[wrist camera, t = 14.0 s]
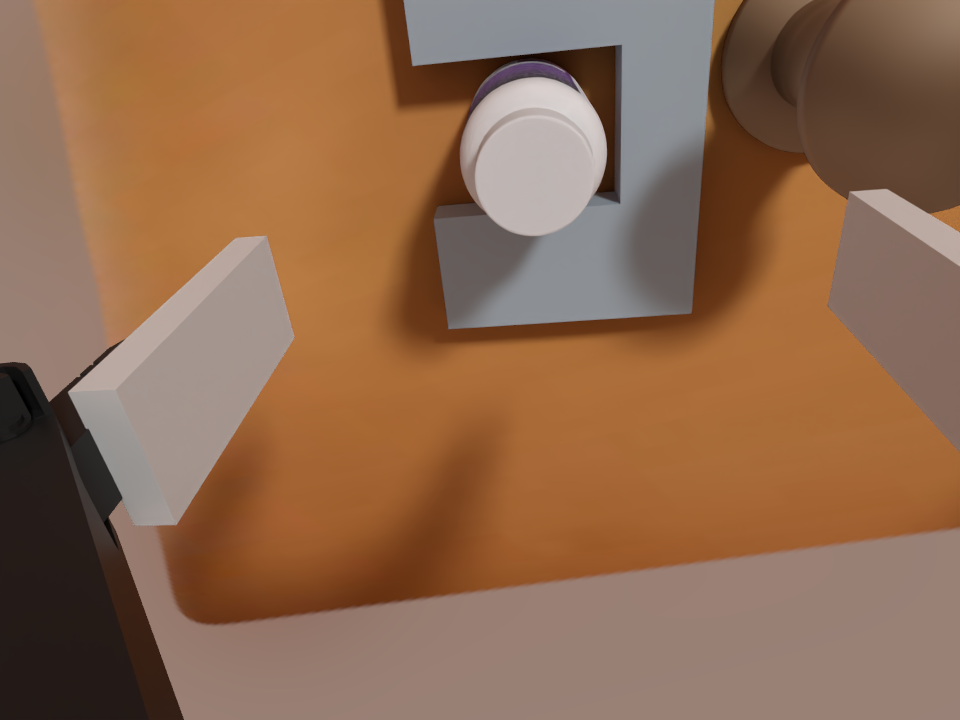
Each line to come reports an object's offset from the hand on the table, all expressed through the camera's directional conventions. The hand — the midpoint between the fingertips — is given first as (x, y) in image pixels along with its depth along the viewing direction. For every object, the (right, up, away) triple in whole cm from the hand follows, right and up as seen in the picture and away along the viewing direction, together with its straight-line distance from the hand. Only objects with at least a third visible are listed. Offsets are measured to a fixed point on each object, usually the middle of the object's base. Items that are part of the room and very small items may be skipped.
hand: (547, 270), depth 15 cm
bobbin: (+13, +11, +12) cm, 21 cm away
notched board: (+2, +9, +14) cm, 17 cm away
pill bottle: (+1, +9, +15) cm, 17 cm away
